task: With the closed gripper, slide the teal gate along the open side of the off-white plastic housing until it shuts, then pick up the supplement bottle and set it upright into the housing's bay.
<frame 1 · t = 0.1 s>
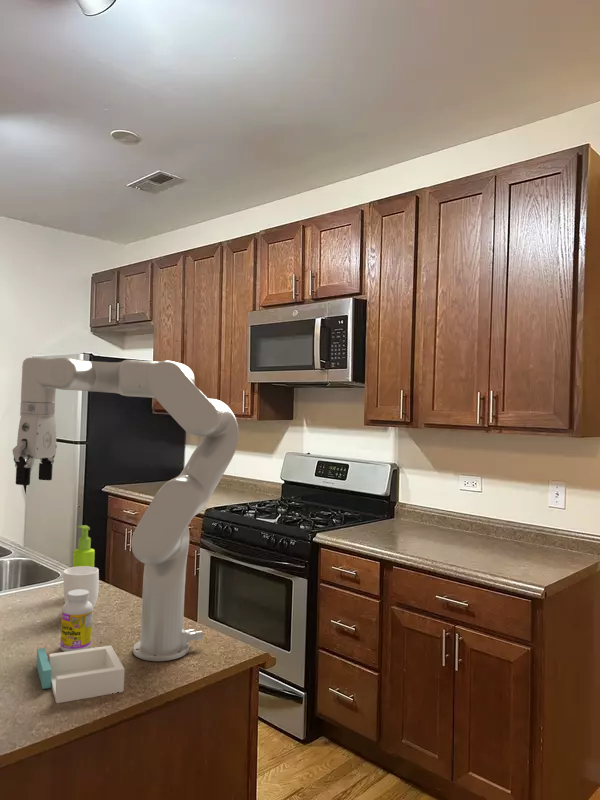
hand: (34, 482, 149), 37 cm above the counter, tool pointing down, fingers open, 9 cm apart
housing: (85, 683, 127), on the counter
supplement bottle: (75, 648, 145), on the counter
mug: (79, 613, 168), on the counter
soap dispenser: (81, 595, 184), on the counter
gate: (43, 667, 129), point 2 cm above the counter, slide at 0.0 cm
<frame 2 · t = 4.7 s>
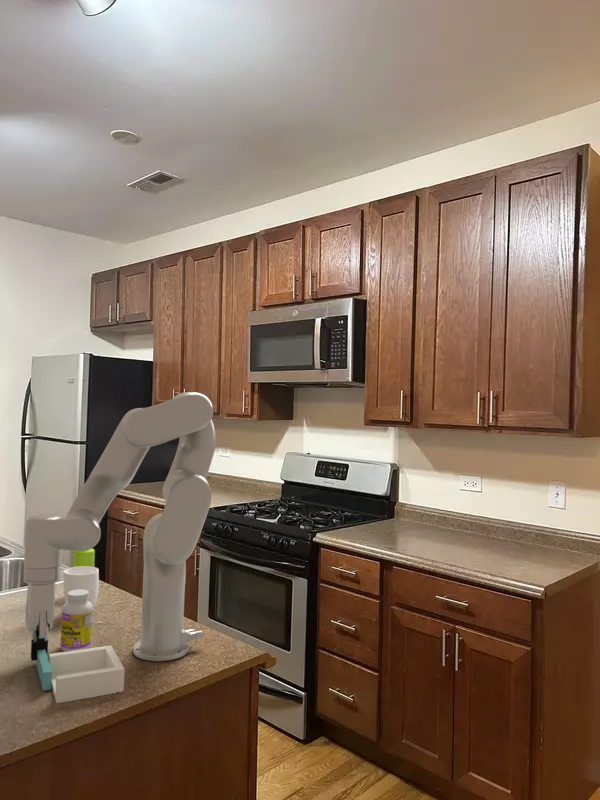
hand: (39, 658, 135), 1 cm above the counter, tool pointing down, fingers closed
gate: (44, 669, 128), point 2 cm above the counter, slide at 0.9 cm, touching gripper
everything else where it was.
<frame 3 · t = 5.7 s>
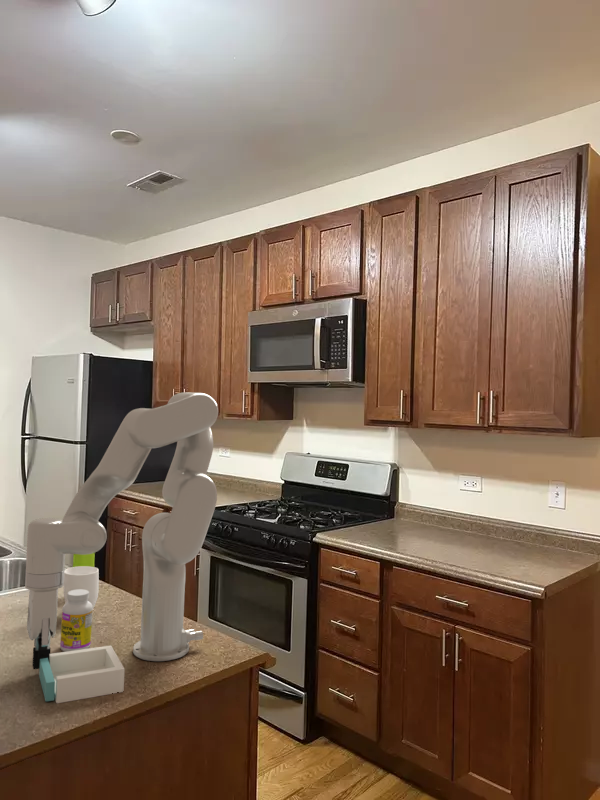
hand: (41, 666, 131), 1 cm above the counter, tool pointing down, fingers closed
gate: (46, 678, 124), point 2 cm above the counter, slide at 5.7 cm
everything else where it was.
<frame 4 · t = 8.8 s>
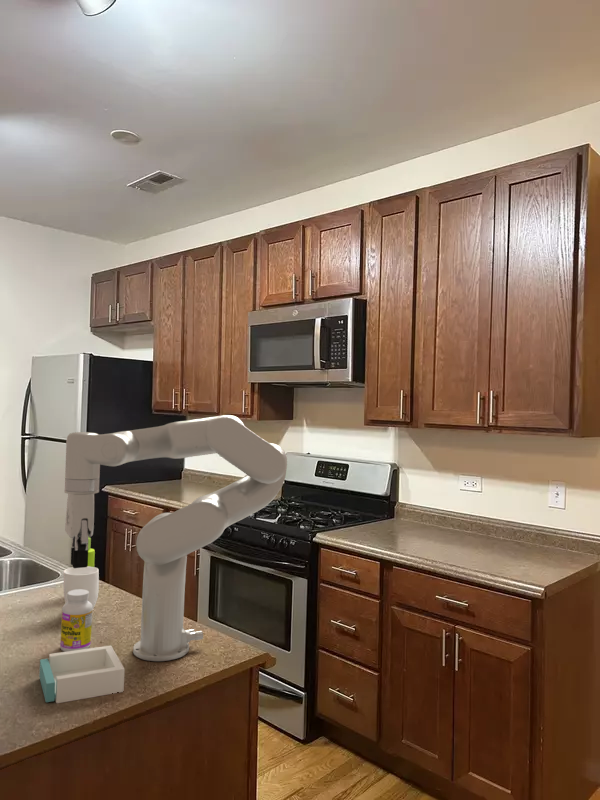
hand: (79, 565, 145), 19 cm above the counter, tool pointing down, fingers closed
gate: (46, 679, 124), point 2 cm above the counter, slide at 6.0 cm
everything else where it was.
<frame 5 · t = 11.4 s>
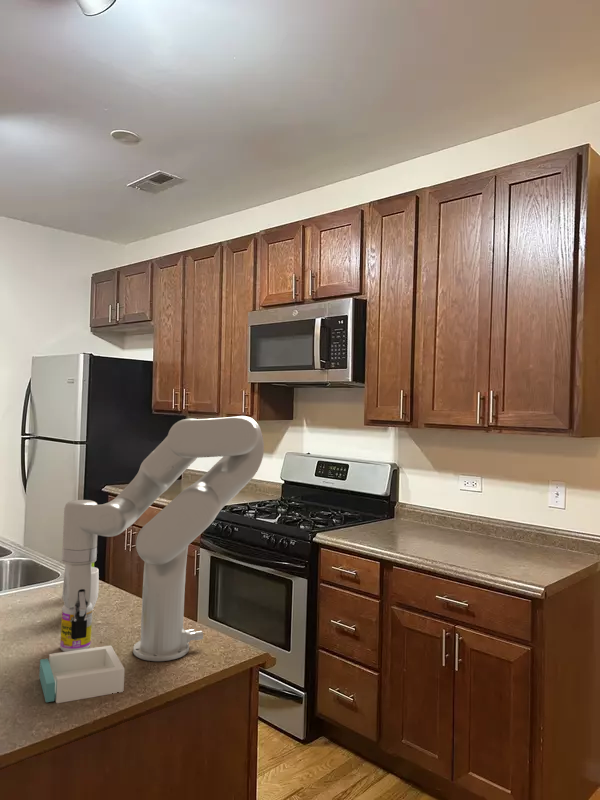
hand: (76, 631, 145), 4 cm above the counter, tool pointing down, fingers closed on supplement bottle, 6 cm apart
supplement bottle: (75, 648, 145), on the counter, touching gripper
everything else where it was.
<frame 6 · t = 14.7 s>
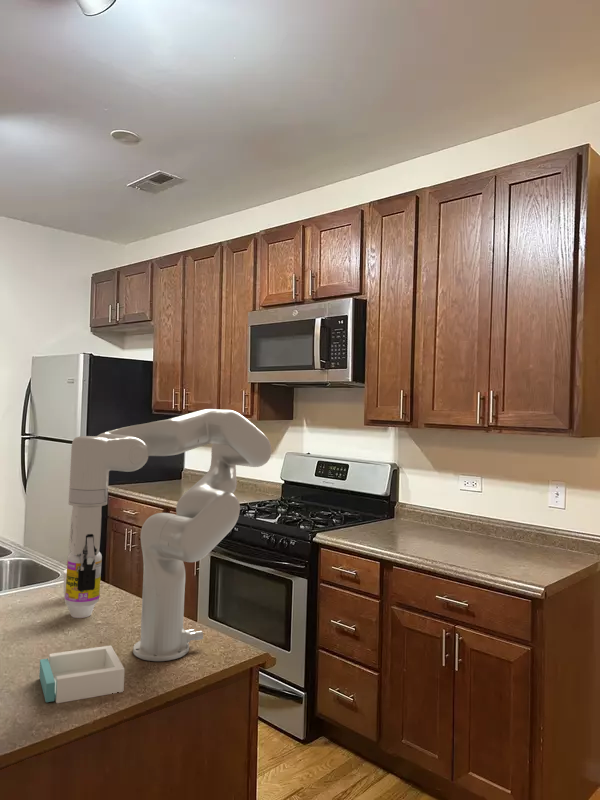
hand: (83, 584, 128), 20 cm above the counter, tool pointing down, fingers closed on supplement bottle, 6 cm apart
supplement bottle: (82, 603, 128), point 16 cm above the counter, touching gripper
everything else where it was.
when the fingers open (6 cm above the counter, at t = 18.0 s): supplement bottle drops 1 cm, resting on housing.
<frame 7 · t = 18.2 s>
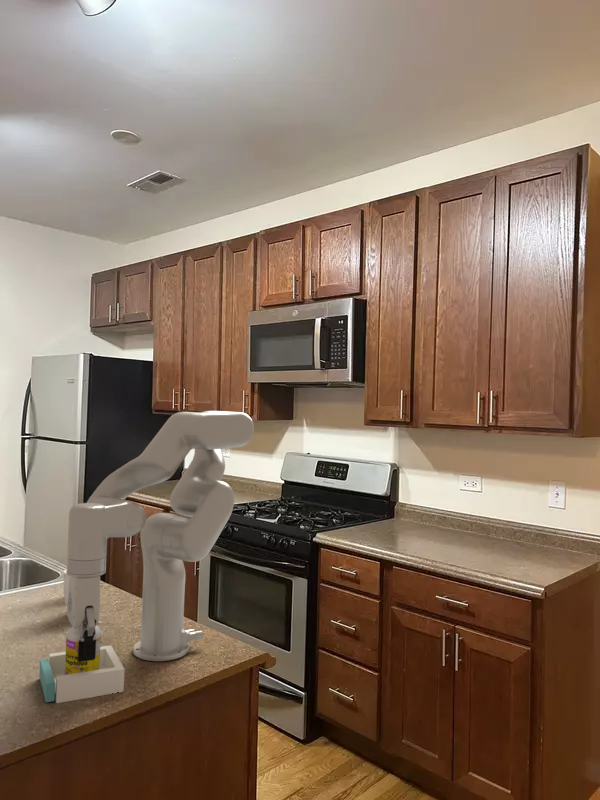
hand: (82, 651, 127), 7 cm above the counter, tool pointing down, fingers open, 8 cm apart
supplement bottle: (81, 680, 127), point 1 cm above the counter, touching housing
everything else where it was.
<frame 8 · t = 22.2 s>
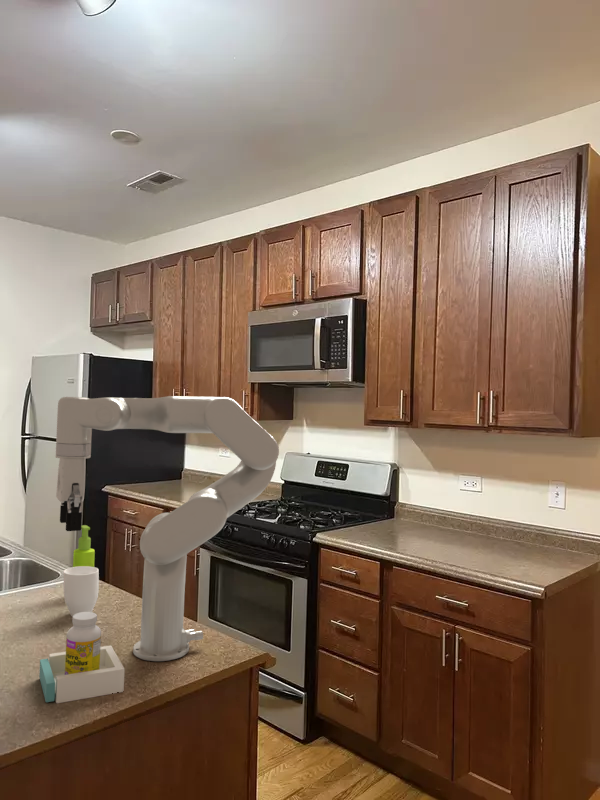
hand: (70, 526, 143), 28 cm above the counter, tool pointing down, fingers open, 9 cm apart
nothing on the counter moved.
at the end: gate slide at 6.0 cm; supplement bottle 0.1 cm off-centre on the housing, point 0.8 cm above the housing's base; supplement bottle tilted 0° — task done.
